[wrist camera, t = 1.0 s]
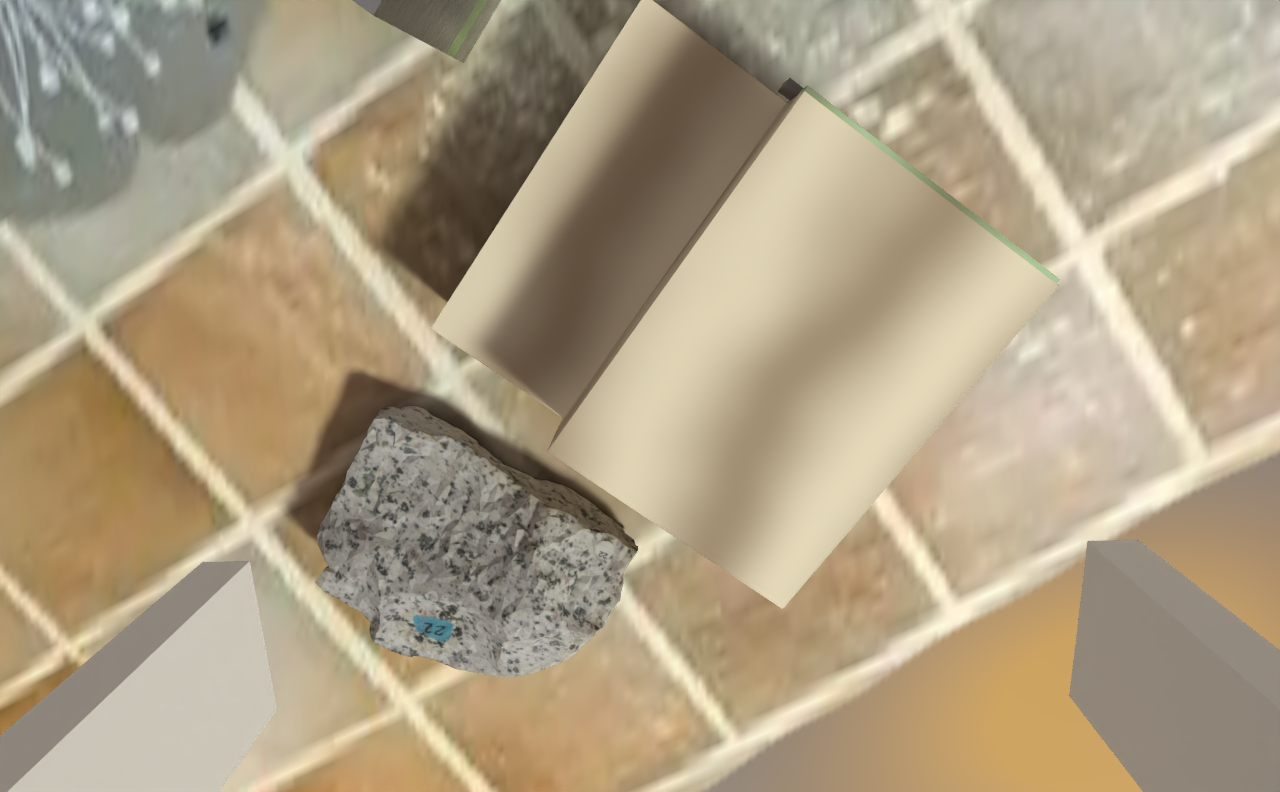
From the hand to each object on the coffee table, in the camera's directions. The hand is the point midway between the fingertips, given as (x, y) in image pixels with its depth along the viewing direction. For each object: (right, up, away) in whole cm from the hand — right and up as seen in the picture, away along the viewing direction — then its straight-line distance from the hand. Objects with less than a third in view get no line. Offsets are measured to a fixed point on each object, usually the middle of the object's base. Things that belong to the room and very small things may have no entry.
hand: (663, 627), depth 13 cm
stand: (+3, +8, +21) cm, 23 cm away
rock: (-8, -3, +25) cm, 26 cm away
